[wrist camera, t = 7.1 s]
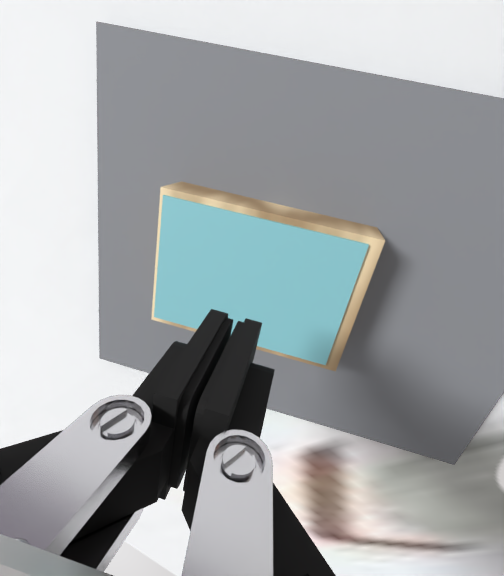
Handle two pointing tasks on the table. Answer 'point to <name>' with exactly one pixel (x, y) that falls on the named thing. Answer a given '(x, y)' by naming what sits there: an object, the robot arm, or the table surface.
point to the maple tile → (262, 270)
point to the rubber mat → (323, 200)
